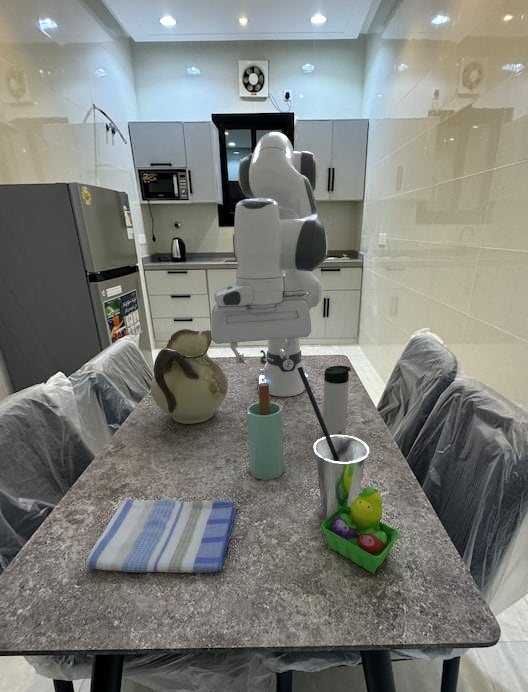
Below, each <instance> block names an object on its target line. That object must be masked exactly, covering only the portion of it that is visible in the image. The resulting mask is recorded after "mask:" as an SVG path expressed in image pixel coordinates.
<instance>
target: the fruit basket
mask: <svg viewBox="0 0 528 692" xmlns="http://www.w3.org/2000/svg"><path fill="white" fill-rule="evenodd" d="M382 504H383V497H382V496H381V494H379V489H377V488H372V487H370V486H367V487H365V488H364V489H362V491H361V492H359V493H358V497H357V498H356V499H355V500H354V501H353V502H352V503H351V506H350V507H349V506H346V507H340V508H339V509H338V510H337V511H335V512H334V513H333V514H332V515H331V516H330V517H329V518H327V519H326V520H324V521H323V522H322V523H321V525H320V526H321V528H322V531H323V532H324V536H325V538H326V542H327V546H328V548H330V549H331V550H333V551H335V552H338V553H339V554H340V555H341V556H343V557H345V558H346V559H349V560H350V561H352V562H353V563H355V564H356V565H358V566H359V567H363V569H365V570H366V571H368V572H369V573H371V574H374V573H375V572H376V570H377V569H378V568H380V566H381V564H383V562H384V561H385V559H386V558H388V556H389V554H390V552H391V550H392V548H393V546H394V544H395V543H396V541H397V540H398V538H399V535H400V532H399V531H398V530H397V529H395V528H393V527H391V526H389V525H387V524H385V523H384V522H381V520H382V518H383V508H382V507H383V506H382Z"/></svg>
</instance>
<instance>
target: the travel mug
mask: <svg viewBox="0 0 528 692" xmlns="http://www.w3.org/2000/svg"><path fill="white" fill-rule="evenodd" d="M351 368H352V367H351V366H347V365H333V366H332V365H331V366H329V367H326V368H325V370H324V374H323V375H324V377H323V399H322V418H323V420H324V423H325V425H326V428H327V430H328V433H329V435H346V431H347V416H348V415H347V414H348V399H349V381H350V380H349V378H350V375H349V373H350V372H351V371H352V369H351ZM321 431H322V430H321ZM323 437H325V436H324V433H323V431H322V432H321V438H323Z"/></svg>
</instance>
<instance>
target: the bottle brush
mask: <svg viewBox="0 0 528 692" xmlns="http://www.w3.org/2000/svg"><path fill="white" fill-rule="evenodd" d="M258 387H259V392H258V400H259V401H258V402H259V405H260V415H269V414H270V402H271V401H270V394H269V384H268V383H260V384H259V383H258Z"/></svg>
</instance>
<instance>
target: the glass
mask: <svg viewBox="0 0 528 692" xmlns="http://www.w3.org/2000/svg"><path fill="white" fill-rule="evenodd" d="M297 369H298V371H299V374H300V376H301V379H302V381H303V384H304V386H305V391H306V393H307V396H308V399H309V401H310V403H311V406H312V408H313V411H314V413H315V416H316V418H317V421H318V423H319V426H320V428H321V431H323V433H324V436H325V437H320V438H319V439H317V440H316V441H315V442H314V444H313V449H312V450H313V452H314V454H315V455H316V456H315V457H316V466H317V467H316V468H317V478H318V489H319V496H320V498H319V499H320V509H321V511H320V512H321V518H322V519H323V520H324V521H325V520H326V519H327V518H329V517H330V516H331V515H332V514H333V513H334V512H335V511H337V510H338V509H339V508H340V507H346V506H349V507H350V506H351V503H352V502H353V501H354V500H355V499H356V498H357V497H359V494H360V490H361V485H362V479H363V473H364V469H365V465H366V459H367V458H368V457H369V454H370V448H369V445H368V444H367V443H366V442H365V441H363V440H362V439H360V438H358V437H355V436H351V435H348V434H347V435H346V434H345V435H329V433H328V430H327V428H326V425H325V423H324V420H323V414H322V412H321V410H320V408H319V405H318V403H317V400H316V398H315V395H314V393H313V391H312V388H311V384H310V382H309V380H308V379H307V378H308V377H306V375H305V373H304V370H303V368H302V367H299V368H297ZM309 384H310V385H309Z"/></svg>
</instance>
